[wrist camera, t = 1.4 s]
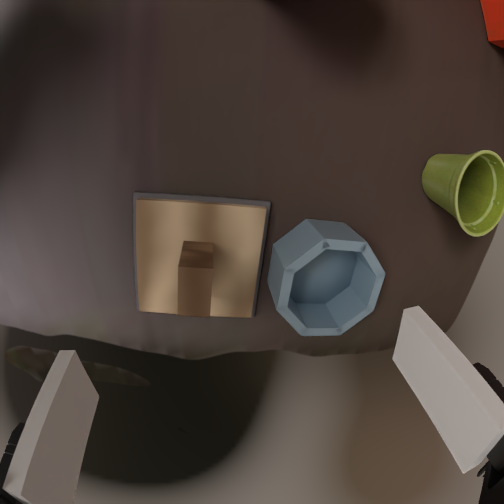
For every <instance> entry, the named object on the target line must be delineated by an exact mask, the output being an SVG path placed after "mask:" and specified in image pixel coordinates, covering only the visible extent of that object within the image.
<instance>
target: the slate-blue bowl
mask: <svg viewBox="0 0 504 504" xmlns="http://www.w3.org/2000/svg"><path fill="white" fill-rule="evenodd" d="M385 274H386V273H385V272H384V270H383V268H382V267H381V265H380V263H379V261H378V260H377V258H376V256H375V255H374V253H373V251H372V249H371V248H370V246H369V244H368V243H367V242H366V241H365V240H364V239H363V238H362V237H361V236H359V235H358V234H357V233H356V232H355V231H354V230H352V229H351V228H350V227H349V226H348V225H347V224H345V223H343V222H334V221H324V220H315V219H305V220H304V221H303V222H301V223H300V224H299V225H297V226H296V227H295V228H293V229H292V230H291V231H290V232H288V233H287V234H286V235H284V236H283V237H282V238H280V239H279V240H278V241H276V242H275V243H274V244H273V247H272V253H271V260H270V266H269V272H268V278H267V283H268V286H269V289H270V292H271V295H272V298H273V301H274V304H275V307H276V310H277V311H278V312H279V313H280V314H281V315H282V316H283V317H284V318H285V320H286V321H287V322H288V323H289V324H290V325H291V326H292V327H293V328H294V329H295V330H296V331H297V332H298V333H299V334H300V335H301V336H330V335H341V334H342V333H344V332H345V331H347V330H348V329H349V328H351V327H352V326H354V325H355V324H356V323H358V322H359V321H360V320H362V319H363V318H364V317H366V316H367V315H368V314H370V313H371V312H372V311H373V310H374V308H375V305H376V302H377V299H378V296H379V293H380V290H381V287H382V283H383V280H384V277H385Z"/></svg>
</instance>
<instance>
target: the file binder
mask: <svg viewBox="0 0 504 504" xmlns="http://www.w3.org/2000/svg"><path fill="white" fill-rule="evenodd" d="M480 2H481V6H482V10H483V15H484V20H485V25H486V30H487V36H488V41H489V42H490V43H492V44H495V45H497V46H499V47H501V48H503V49H504V0H480Z"/></svg>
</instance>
